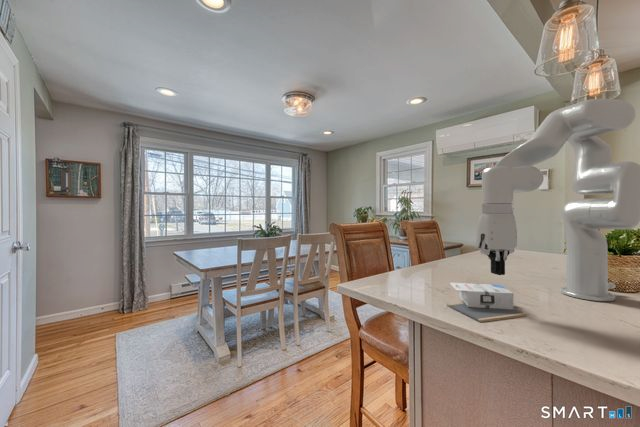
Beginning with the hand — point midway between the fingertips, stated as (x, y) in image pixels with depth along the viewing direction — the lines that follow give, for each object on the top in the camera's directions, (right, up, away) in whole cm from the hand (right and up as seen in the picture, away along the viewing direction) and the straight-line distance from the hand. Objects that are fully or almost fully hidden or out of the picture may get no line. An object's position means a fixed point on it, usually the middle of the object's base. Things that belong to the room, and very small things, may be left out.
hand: (497, 273), depth 77 cm
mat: (-4, -10, -1) cm, 11 cm away
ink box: (+4, -7, +2) cm, 9 cm away
